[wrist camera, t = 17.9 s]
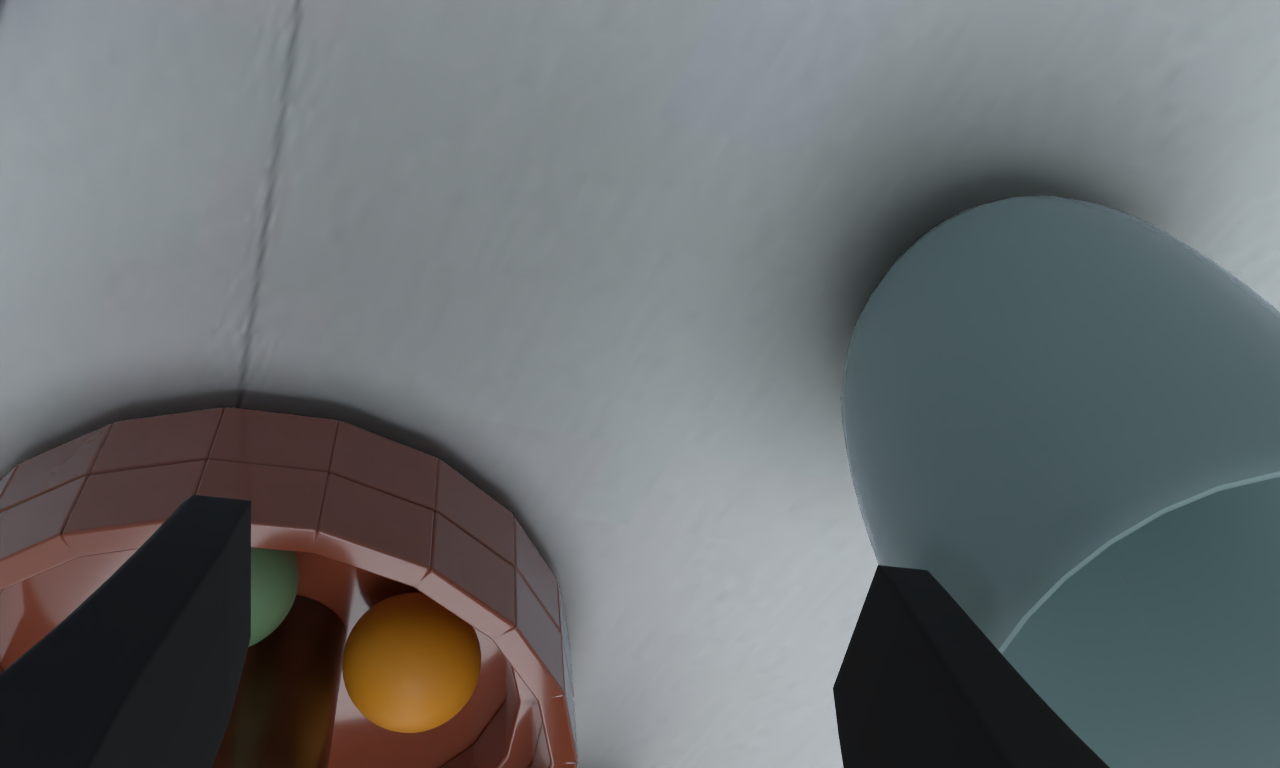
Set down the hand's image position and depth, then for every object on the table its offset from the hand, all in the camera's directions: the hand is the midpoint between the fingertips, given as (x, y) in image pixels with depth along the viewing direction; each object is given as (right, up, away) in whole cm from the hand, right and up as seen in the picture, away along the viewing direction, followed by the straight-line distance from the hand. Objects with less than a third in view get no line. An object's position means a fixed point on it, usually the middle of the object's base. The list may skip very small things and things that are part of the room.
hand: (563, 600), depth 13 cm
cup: (+8, +4, +11) cm, 14 cm away
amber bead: (-4, -4, +12) cm, 13 cm away
